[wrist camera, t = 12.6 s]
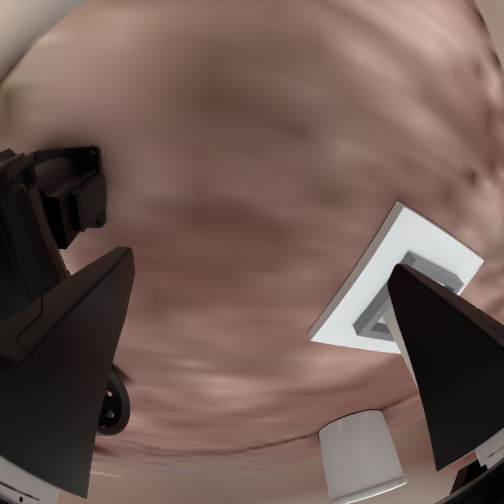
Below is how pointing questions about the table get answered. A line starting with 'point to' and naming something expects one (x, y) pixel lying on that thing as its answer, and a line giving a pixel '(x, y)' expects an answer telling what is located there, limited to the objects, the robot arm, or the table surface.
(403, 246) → the dock plate
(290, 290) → the table surface
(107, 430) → the muzzle brake
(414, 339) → the robot arm
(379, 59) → the table surface
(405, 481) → the utensil holder
